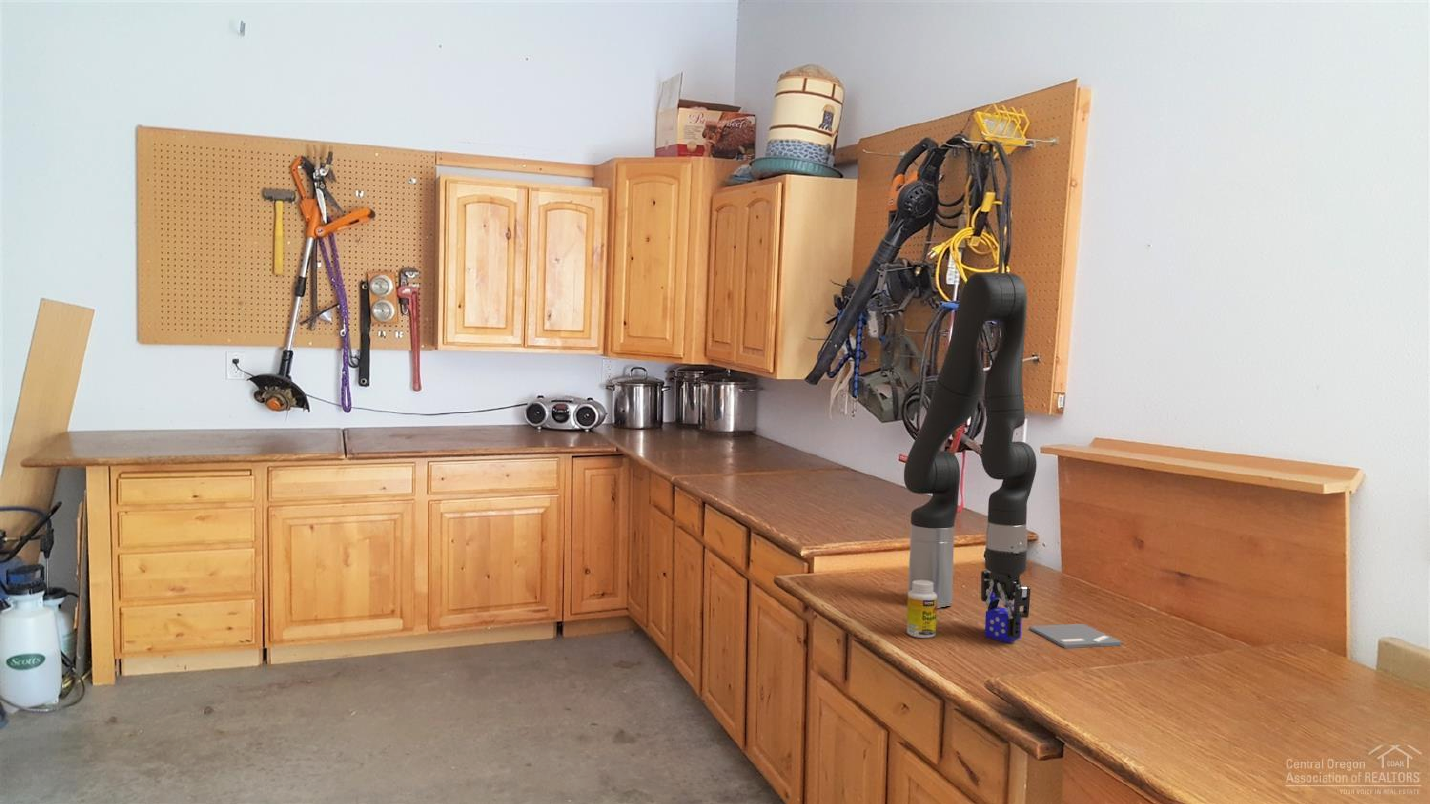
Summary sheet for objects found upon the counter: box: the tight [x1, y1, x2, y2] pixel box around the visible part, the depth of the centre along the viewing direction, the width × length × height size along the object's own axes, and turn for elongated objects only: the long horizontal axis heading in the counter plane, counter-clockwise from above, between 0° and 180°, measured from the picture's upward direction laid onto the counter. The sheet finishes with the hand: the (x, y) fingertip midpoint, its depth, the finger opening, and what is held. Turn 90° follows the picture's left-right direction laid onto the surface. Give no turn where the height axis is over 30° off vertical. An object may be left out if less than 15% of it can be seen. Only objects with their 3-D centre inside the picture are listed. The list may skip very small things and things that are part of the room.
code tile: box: [1028, 623, 1123, 649], centre depth 174 cm, size 12×12×1 cm
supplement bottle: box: [906, 580, 938, 639], centre depth 174 cm, size 6×6×10 cm
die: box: [984, 606, 1023, 644], centre depth 173 cm, size 5×5×5 cm
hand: (1003, 632), depth 173 cm, fingers closed on die, 7 cm apart
